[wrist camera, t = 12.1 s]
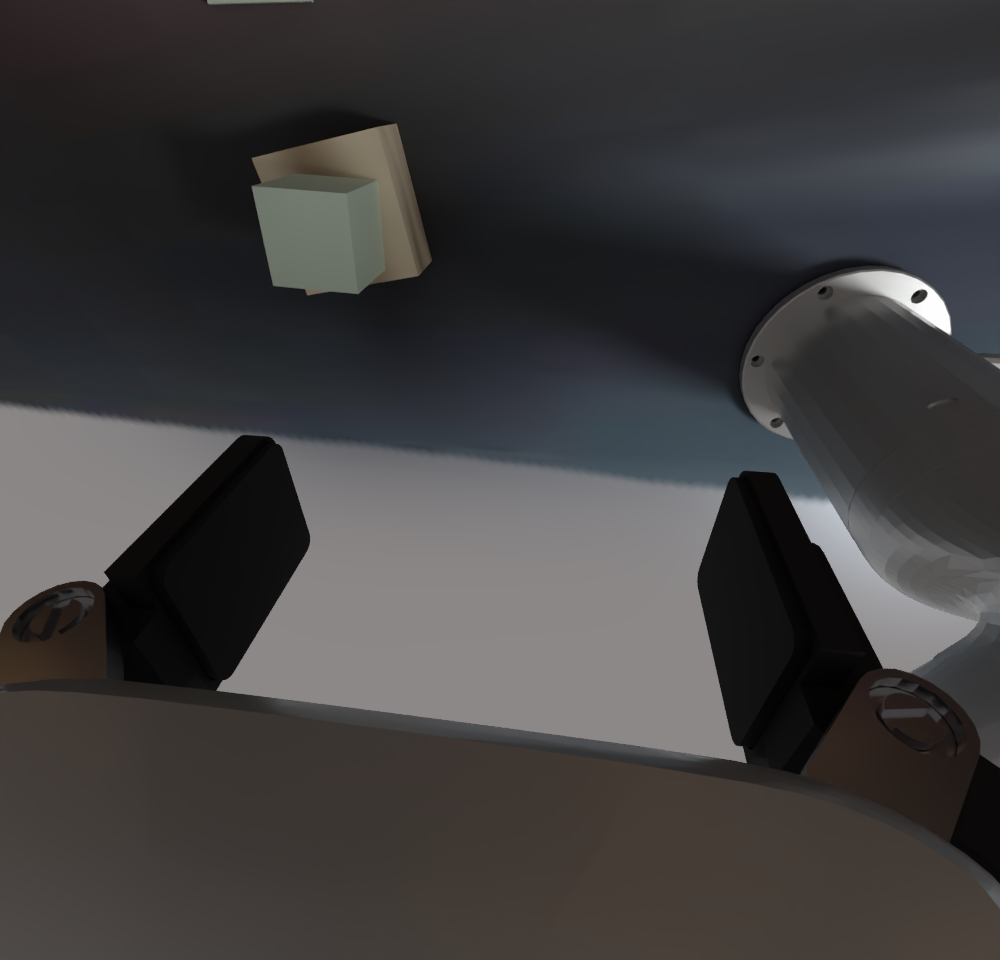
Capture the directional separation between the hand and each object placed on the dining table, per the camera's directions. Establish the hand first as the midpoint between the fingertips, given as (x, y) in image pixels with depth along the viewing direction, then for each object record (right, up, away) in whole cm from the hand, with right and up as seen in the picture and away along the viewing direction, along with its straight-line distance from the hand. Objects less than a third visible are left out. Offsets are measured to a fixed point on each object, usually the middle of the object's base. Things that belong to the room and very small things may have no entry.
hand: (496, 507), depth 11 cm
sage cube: (-10, +16, +20) cm, 28 cm away
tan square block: (-9, +19, +23) cm, 32 cm away
